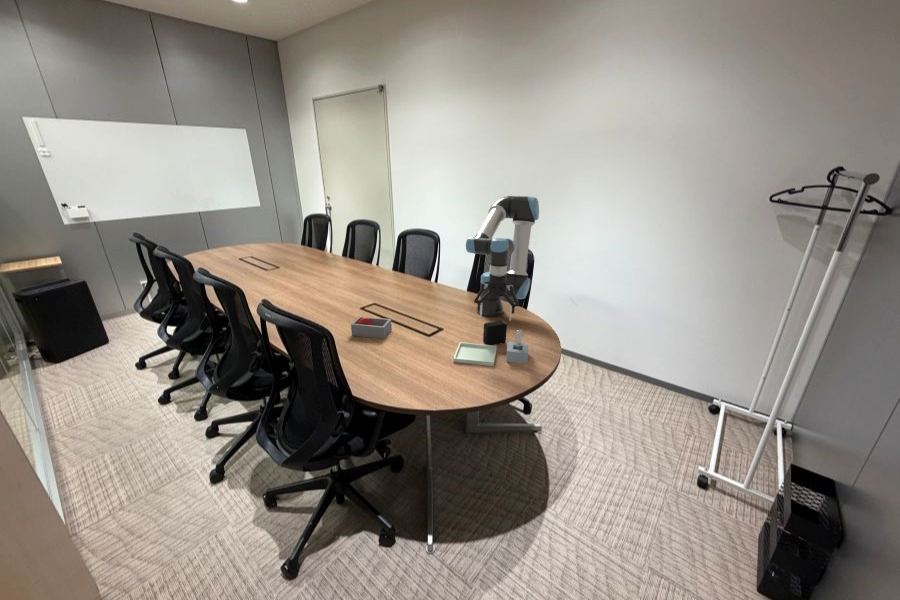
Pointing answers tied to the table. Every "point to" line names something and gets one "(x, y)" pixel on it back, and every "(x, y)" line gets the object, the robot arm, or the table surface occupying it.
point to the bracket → (365, 321)
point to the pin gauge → (518, 339)
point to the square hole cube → (517, 353)
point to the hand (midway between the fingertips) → (495, 318)
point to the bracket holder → (372, 328)
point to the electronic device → (494, 333)
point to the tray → (475, 354)
